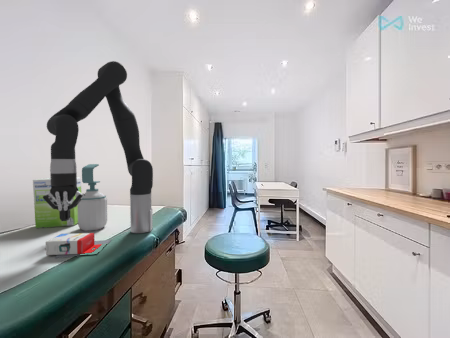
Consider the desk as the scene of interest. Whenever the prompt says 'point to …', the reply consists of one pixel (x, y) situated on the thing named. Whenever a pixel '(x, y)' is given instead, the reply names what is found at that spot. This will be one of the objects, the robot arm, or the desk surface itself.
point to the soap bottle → (91, 203)
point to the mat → (79, 254)
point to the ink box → (71, 244)
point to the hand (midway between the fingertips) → (65, 220)
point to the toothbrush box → (44, 211)
